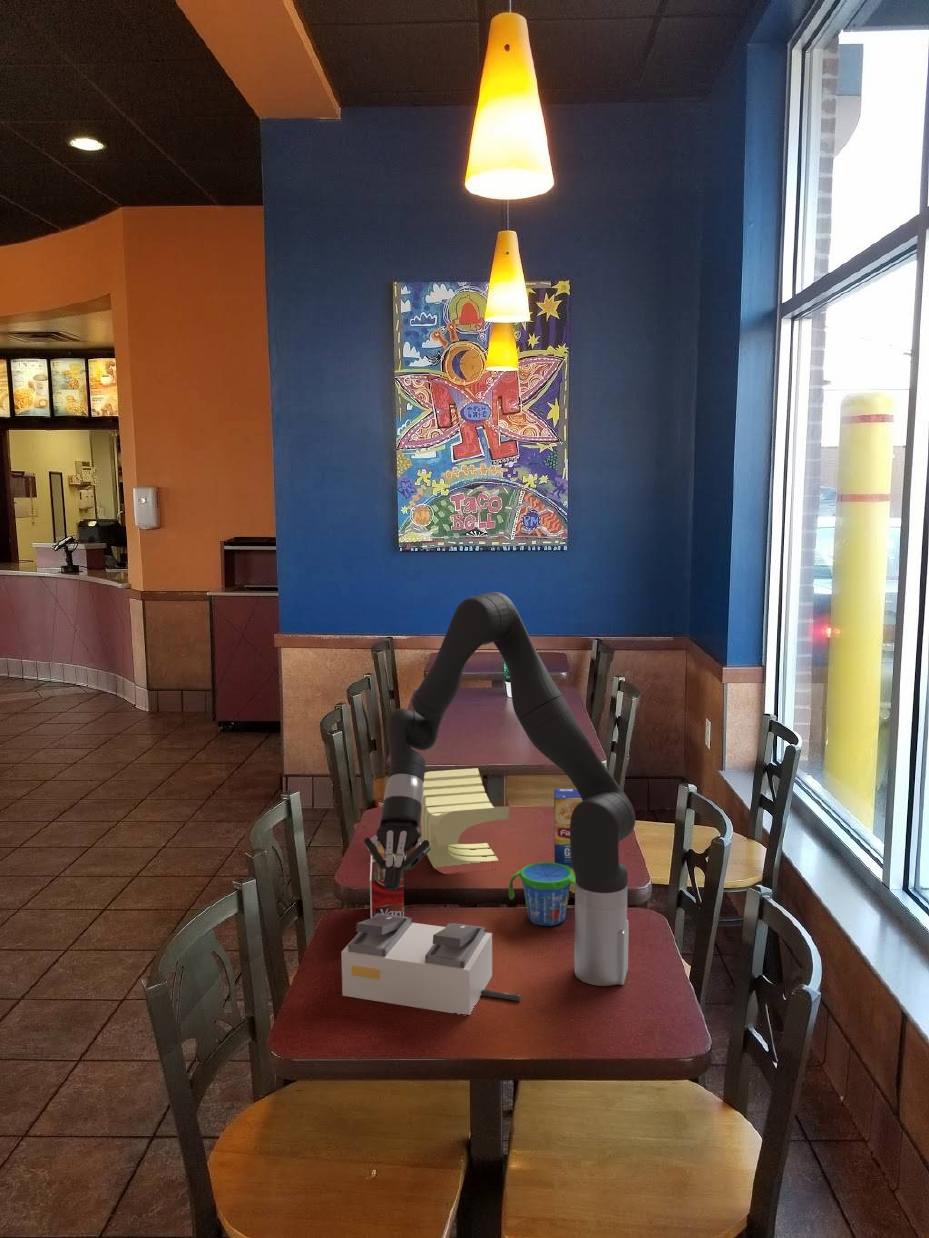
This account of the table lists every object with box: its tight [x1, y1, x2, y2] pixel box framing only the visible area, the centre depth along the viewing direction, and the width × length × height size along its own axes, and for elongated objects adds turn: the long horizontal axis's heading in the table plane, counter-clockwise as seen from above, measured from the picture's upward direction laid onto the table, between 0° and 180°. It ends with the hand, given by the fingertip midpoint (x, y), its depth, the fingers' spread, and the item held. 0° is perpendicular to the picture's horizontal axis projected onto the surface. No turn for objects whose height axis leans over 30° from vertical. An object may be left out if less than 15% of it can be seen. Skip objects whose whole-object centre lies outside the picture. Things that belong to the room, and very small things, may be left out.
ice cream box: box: [369, 841, 405, 919], centre depth 193 cm, size 20×6×13 cm, turn 5°
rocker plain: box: [433, 923, 478, 947], centre depth 166 cm, size 5×11×2 cm, turn 163°
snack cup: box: [508, 861, 575, 927], centre depth 194 cm, size 16×10×10 cm
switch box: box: [340, 913, 522, 1016], centre depth 167 cm, size 30×14×9 cm, turn 73°
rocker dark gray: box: [355, 915, 404, 935], centre depth 170 cm, size 5×11×2 cm, turn 163°
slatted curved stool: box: [420, 767, 510, 869], centre depth 224 cm, size 30×16×18 cm, turn 12°
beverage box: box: [553, 788, 583, 893], centre depth 206 cm, size 7×11×22 cm, turn 86°
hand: (391, 889), depth 175 cm, fingers closed
